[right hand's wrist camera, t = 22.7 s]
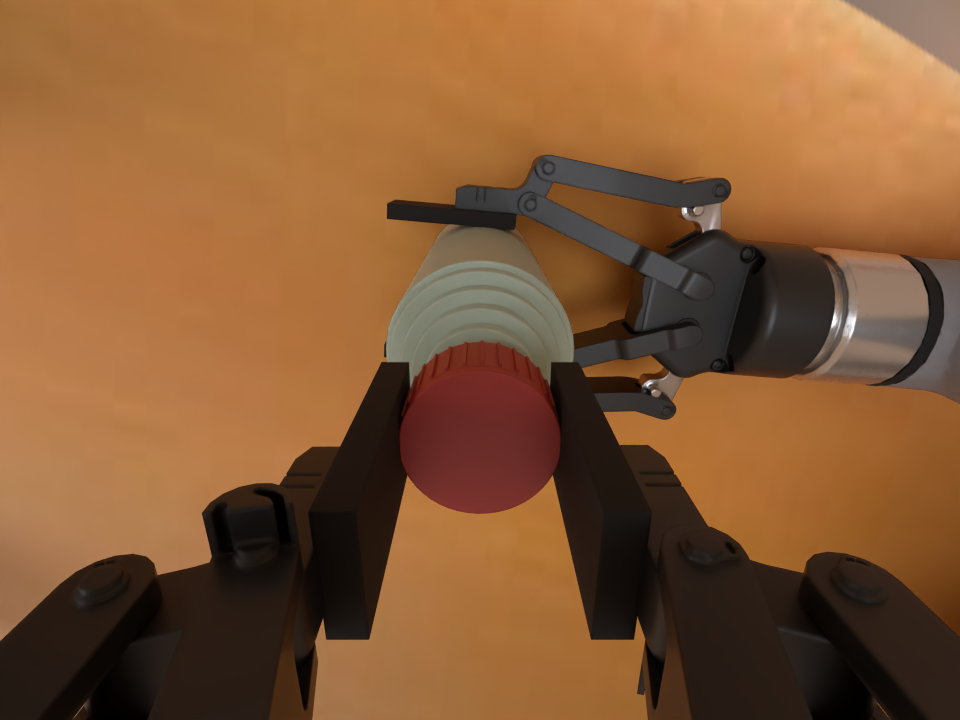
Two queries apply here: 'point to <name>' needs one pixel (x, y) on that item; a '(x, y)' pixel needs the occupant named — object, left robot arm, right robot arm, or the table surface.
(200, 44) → the table surface
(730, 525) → the table surface
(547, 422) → the cap
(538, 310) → the bottle
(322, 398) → the table surface
